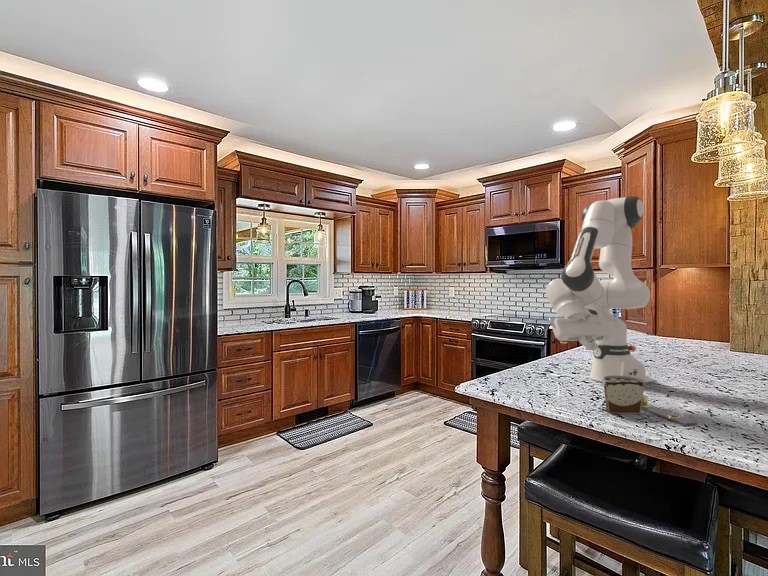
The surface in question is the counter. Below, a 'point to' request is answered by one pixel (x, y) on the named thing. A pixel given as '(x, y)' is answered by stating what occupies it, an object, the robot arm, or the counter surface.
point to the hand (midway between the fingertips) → (593, 349)
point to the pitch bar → (665, 413)
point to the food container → (623, 394)
